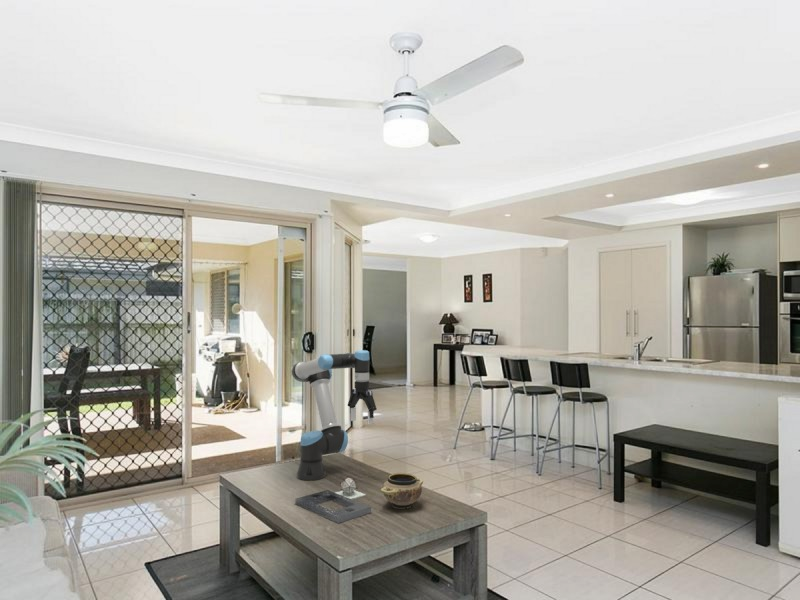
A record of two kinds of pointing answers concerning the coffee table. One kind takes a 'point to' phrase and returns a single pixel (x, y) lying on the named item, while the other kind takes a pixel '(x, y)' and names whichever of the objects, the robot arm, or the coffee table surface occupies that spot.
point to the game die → (348, 486)
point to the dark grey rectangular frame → (337, 516)
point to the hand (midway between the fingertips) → (361, 422)
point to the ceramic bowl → (402, 489)
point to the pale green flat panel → (352, 495)
